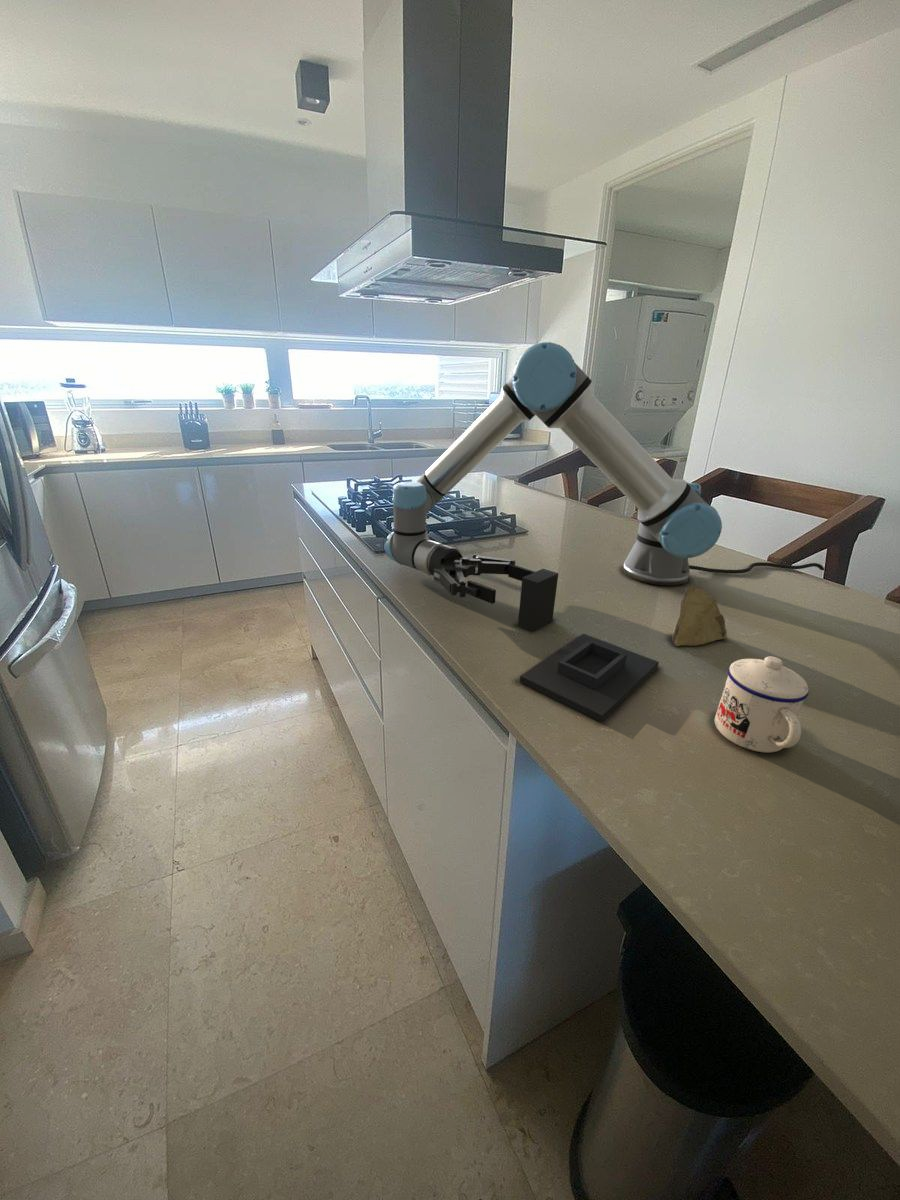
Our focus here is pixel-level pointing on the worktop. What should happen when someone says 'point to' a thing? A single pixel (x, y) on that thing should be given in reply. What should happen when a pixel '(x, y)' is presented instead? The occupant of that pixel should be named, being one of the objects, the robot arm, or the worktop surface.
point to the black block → (537, 599)
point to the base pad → (590, 675)
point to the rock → (698, 619)
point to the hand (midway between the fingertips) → (515, 587)
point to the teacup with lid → (761, 705)
